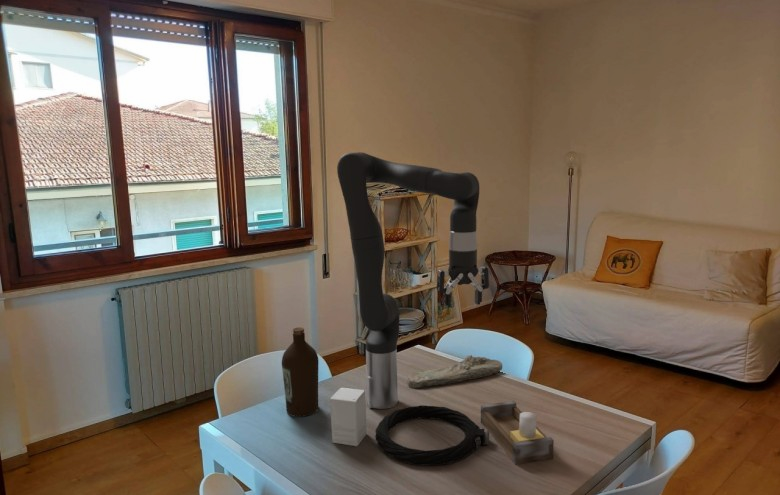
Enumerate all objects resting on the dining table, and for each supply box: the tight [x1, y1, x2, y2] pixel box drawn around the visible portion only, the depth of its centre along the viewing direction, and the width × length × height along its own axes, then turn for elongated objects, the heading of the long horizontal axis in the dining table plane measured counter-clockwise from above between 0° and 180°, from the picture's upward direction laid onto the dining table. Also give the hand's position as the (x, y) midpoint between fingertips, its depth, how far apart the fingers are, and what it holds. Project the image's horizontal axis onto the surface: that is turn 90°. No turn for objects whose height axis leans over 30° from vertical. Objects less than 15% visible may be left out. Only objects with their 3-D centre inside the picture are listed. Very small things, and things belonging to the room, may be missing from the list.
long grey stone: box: [406, 354, 503, 389], centre depth 187 cm, size 35×5×10 cm
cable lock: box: [374, 405, 490, 466], centre depth 149 cm, size 28×4×30 cm
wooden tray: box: [480, 400, 555, 465], centre depth 147 cm, size 10×22×5 cm, turn 13°
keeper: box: [510, 411, 545, 442], centre depth 140 cm, size 7×5×8 cm
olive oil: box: [281, 327, 319, 418], centre depth 164 cm, size 11×11×25 cm
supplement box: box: [329, 387, 368, 447], centre depth 149 cm, size 7×7×13 cm
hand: (462, 305), depth 154 cm, fingers open, 8 cm apart
